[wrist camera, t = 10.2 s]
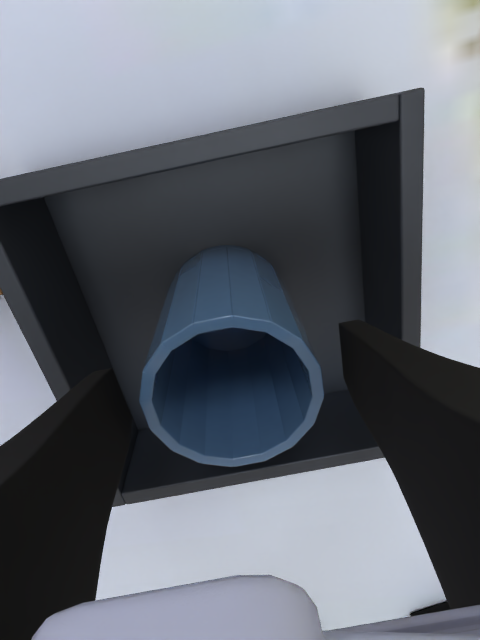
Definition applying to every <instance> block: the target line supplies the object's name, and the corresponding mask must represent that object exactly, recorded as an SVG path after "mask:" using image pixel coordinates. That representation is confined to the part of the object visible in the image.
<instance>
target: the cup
mask: <svg viewBox="0 0 480 640" xmlns="http://www.w3.org/2000/svg"><path fill="white" fill-rule="evenodd" d="M323 399H324V388H323V380H322V371H321V366H320V364H319V361H318V359H317V357H316V355H315V352H314V350H313V348H312V346H311V343H310V341H309V339H308V337H307V334H306V332H305V330H304V328H303V325H302V323H301V321H300V319H299V316H298V314H297V312H296V310H295V307H294V305H293V303H292V301H291V299H290V296H289V294H288V292H287V290H286V287H285V285H284V283H283V281H282V280H281V278H280V276H279V275H278V273H277V271H276V270H275V268H274V267H273V266H272V264H271V263H270V262H269V261H268V260H267V259H265V258H264V257H263V256H261V255H260V254H258V253H256V252H254V251H252V250H250V249H247V248H244V247H240V246H233V245H221V246H214V247H211V248H207V249H205V250H202V251H200V252H198V253H196V254H195V255H193V256H192V257H190V258H189V259H188V260H186V261H185V263H184V264H183V265H182V266H181V267H180V268H179V270H178V271H177V272H176V274H175V276H174V278H173V281H172V282H171V284H170V286H169V289H168V292H167V296H166V299H165V302H164V305H163V308H162V311H161V315H160V318H159V321H158V324H157V327H156V330H155V333H154V337H153V340H152V343H151V346H150V349H149V352H148V356H147V359H146V362H145V365H144V368H143V371H142V379H141V388H140V397H139V401H140V402H139V403H140V405H141V408H142V410H143V413H144V415H145V418H146V421H147V423H148V426H149V428H150V430H151V431H152V432H153V433H154V434H155V435H156V436H157V437H158V438H159V439H160V440H161V441H162V442H163V443H164V444H165V445H166V446H167V447H168V448H169V449H170V450H172V451H174V452H176V453H178V454H180V455H183V456H185V457H187V458H189V459H192V460H194V461H196V462H198V463H202V464H210V465H219V466H228V467H236V466H242V465H247V464H252V463H258V462H263V461H267V460H268V459H270V458H272V457H274V456H276V455H278V454H280V453H282V452H284V451H286V450H288V449H289V448H291V447H293V446H294V445H295V444H296V443H297V442H298V441H299V440H300V439H301V438H302V437H303V436H304V435H305V433H306V432H307V431H308V430H309V429H310V428H311V427H312V426H313V425H314V423H315V421H316V418H317V415H318V412H319V410H320V407H321V404H322V401H323Z"/></svg>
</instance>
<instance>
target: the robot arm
mask: <svg viewBox="0 0 480 640" xmlns="http://www.w3.org/2000/svg"><path fill="white" fill-rule="evenodd" d="M339 334H340V345H341V356H342V367H343V378H344V380H345V383H346V385H347V388H348V390H349V393H350V395H351V398H352V400H353V402H354V405H355V406H356V408H357V410H358V412H359V413H360V415H361V417H362V419H363V420H364V422H365V424H366V426H367V427H368V429H369V431H370V433H371V434H372V436H373V438H374V439H375V441H376V443H377V445H378V446H379V448H380V450H381V451H382V453H383V455H384V457H385V458H386V460H387V462H388V464H389V466H390V468H391V470H392V471H393V473H394V475H395V478H396V480H397V482H398V484H399V486H400V489H401V491H402V493H403V495H404V498H405V500H406V502H407V504H408V507H409V509H410V511H411V514H412V516H413V518H414V521H415V523H416V525H417V528H418V530H419V532H420V535H421V537H422V539H423V542H424V544H425V547H426V549H427V552H428V554H429V557H430V559H431V562H432V564H433V566H434V569H435V571H436V574H437V576H438V579H439V581H440V584H441V586H442V589H443V591H444V594H445V597H446V599H447V602H448V604H449V607H450V610H446V611H440V612H434V613H428V614H423V615H417V616H411V617H405V618H399V619H393V620H388V621H382V622H376V623H370V624H364V625H359V626H353V627H347V628H341V629H335V630H329V631H322V629H321V624H320V619H319V615H318V610H317V607H316V605H315V604H314V603H313V601H312V600H311V598H310V597H309V596H308V594H307V593H306V592H305V590H304V589H303V588H301V587H300V586H298V585H296V584H294V583H291V582H288V581H285V580H283V579H280V578H277V577H274V576H272V575H237V576H231V577H225V578H220V579H214V580H208V581H203V582H197V583H192V584H186V585H180V586H175V587H169V588H163V589H158V590H152V591H147V592H141V593H135V594H130V595H124V596H119V597H113V598H107V599H102V600H96V601H95V598H96V591H97V584H98V578H99V571H100V564H101V558H102V552H103V546H104V541H105V535H106V529H107V525H108V521H109V516H110V512H111V509H112V505H113V502H114V498H115V495H116V491H117V488H118V485H119V481H120V478H121V474H122V471H123V467H124V463H125V460H126V456H127V452H128V449H129V443H130V437H131V428H132V419H133V418H132V416H131V413H130V411H129V408H128V406H127V403H126V401H125V398H124V396H123V393H122V391H121V388H120V386H119V383H118V381H117V379H116V376H115V374H114V371H113V369H112V368H110V369H105V370H99V371H94V372H92V373H91V374H89V375H88V376H87V377H85V378H84V379H83V380H81V381H80V382H79V383H78V384H77V385H75V386H74V387H73V388H72V389H71V390H70V391H68V392H67V393H66V394H65V395H64V396H63V397H61V398H60V399H59V400H58V401H57V402H56V403H54V404H53V405H52V406H51V407H50V408H49V409H47V410H46V411H45V412H44V413H43V414H41V415H40V416H39V417H38V418H36V419H35V420H34V421H33V422H31V423H30V424H29V425H28V426H26V427H25V428H24V429H23V430H21V431H20V432H19V433H18V434H16V435H15V436H14V437H12V438H11V439H10V440H8V441H7V442H5V443H4V444H3V445H1V446H0V640H480V368H478V367H474V366H471V365H467V364H464V363H461V362H458V361H454V360H451V359H448V358H445V357H442V356H439V355H437V354H434V353H432V352H429V351H427V350H424V349H422V348H419V347H417V346H414V345H412V344H410V343H408V342H405V341H403V340H401V339H399V338H397V337H395V336H392V335H390V334H388V333H386V332H384V331H382V330H380V329H378V328H376V327H374V326H372V325H370V324H368V323H366V322H364V321H361V320H359V319H357V320H352V321H347V322H342V323H339Z"/></svg>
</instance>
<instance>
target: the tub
mask: <svg viewBox="0 0 480 640" xmlns="http://www.w3.org/2000/svg"><path fill="white" fill-rule="evenodd" d="M423 149H424V88H417V89H413V90H408V91H403V92H399V93H394V94H390V95H385V96H380V97H376V98H371V99H366V100H362V101H357V102H353V103H348V104H343V105H339V106H334V107H330V108H325V109H320V110H316V111H311V112H307V113H302V114H297V115H293V116H288V117H283V118H279V119H274V120H270V121H265V122H260V123H256V124H251V125H247V126H242V127H237V128H233V129H228V130H224V131H219V132H214V133H210V134H205V135H201V136H196V137H191V138H187V139H182V140H177V141H173V142H168V143H164V144H159V145H154V146H150V147H145V148H141V149H136V150H131V151H127V152H122V153H118V154H113V155H108V156H104V157H99V158H95V159H90V160H85V161H81V162H76V163H71V164H67V165H62V166H58V167H53V168H48V169H44V170H39V171H35V172H30V173H25V174H21V175H16V176H12V177H7V178H2V179H0V289H1V291H2V293H3V295H4V297H5V299H6V301H7V303H8V305H9V307H10V309H11V311H12V313H13V315H14V317H15V319H16V321H17V323H18V325H19V327H20V329H21V331H22V333H23V335H24V337H25V339H26V341H27V343H28V344H29V346H30V348H31V350H32V352H33V354H34V356H35V358H36V360H37V362H38V364H39V366H40V368H41V370H42V372H43V374H44V376H45V378H46V380H47V382H48V384H49V386H50V388H51V390H52V392H53V394H54V396H55V398H56V400H57V401H58V400H59V399H60V398H61V397H63V396H64V395H65V394H66V393H67V392H68V391H70V390H71V389H72V388H73V387H74V386H75V385H77V384H78V383H79V382H80V381H81V380H83V379H84V378H85V377H87V376H88V375H89V374H91V373H92V372H94V371H99V370H105V369H110V368H112V369H113V371H114V374H115V376H116V379H117V381H118V383H119V386H120V388H121V391H122V393H123V396H124V398H125V401H126V403H127V406H128V408H129V411H130V413H131V416H132V418H133V419H132V428H131V437H130V443H129V449H128V452H127V456H126V460H125V463H124V467H123V471H122V474H121V478H120V481H119V485H118V488H117V491H116V495H115V498H114V502H113V505H112V507H115V506H121V505H125V504H132V503H138V502H143V501H149V500H154V499H160V498H165V497H171V496H176V495H182V494H187V493H193V492H198V491H204V490H209V489H214V488H220V487H225V486H231V485H236V484H242V483H247V482H253V481H258V480H264V479H269V478H275V477H280V476H286V475H291V474H297V473H302V472H308V471H313V470H319V469H324V468H330V467H335V466H341V465H346V464H352V463H357V462H363V461H368V460H374V459H379V458H385V457H384V455H383V453H382V451H381V450H380V448H379V446H378V445H377V443H376V441H375V439H374V438H373V436H372V434H371V433H370V431H369V429H368V427H367V426H366V424H365V422H364V420H363V419H362V417H361V415H360V413H359V412H358V410H357V408H356V406H355V405H354V402H353V400H352V398H351V395H350V393H349V390H348V388H347V385H346V383H345V380H344V378H343V367H342V356H341V345H340V334H339V323H342V322H347V321H352V320H357V319H359V320H361V321H364V322H366V323H368V324H370V325H372V326H374V327H376V328H378V329H380V330H382V331H384V332H386V333H388V334H390V335H392V336H395V337H397V338H399V339H401V340H403V341H405V342H408V343H410V344H412V345H414V346H417V347H419V348H420V329H421V269H422V209H423ZM221 245H233V246H240V247H244V248H247V249H250V250H252V251H254V252H256V253H258V254H260V255H261V256H263V257H264V258H265V259H267V260H268V261H269V262H270V263H271V264H272V266H273V267H274V268H275V270H276V271H277V273H278V275H279V276H280V278H281V280H282V281H283V283H284V285H285V287H286V290H287V292H288V294H289V296H290V299H291V301H292V303H293V305H294V307H295V310H296V312H297V314H298V316H299V319H300V321H301V323H302V325H303V328H304V330H305V332H306V334H307V337H308V339H309V341H310V343H311V346H312V348H313V350H314V352H315V355H316V357H317V359H318V361H319V364H320V366H321V371H322V380H323V388H324V399H323V401H322V404H321V407H320V410H319V412H318V415H317V418H316V421H315V423H314V425H313V426H312V427H311V428H310V429H309V430H308V431H307V432H306V433H305V435H304V436H303V437H302V438H301V439H300V440H299V441H298V442H297V443H296V444H295V445H294V446H293V447H291V448H289V449H288V450H286V451H284V452H282V453H280V454H278V455H276V456H274V457H272V458H270V459H268V460H267V461H263V462H258V463H252V464H247V465H242V466H236V467H228V466H219V465H210V464H202V463H198V462H196V461H194V460H192V459H189V458H187V457H185V456H183V455H180V454H178V453H176V452H174V451H172V450H170V449H169V448H168V447H167V446H166V445H165V444H164V443H163V442H162V441H161V440H160V439H159V438H158V437H157V436H156V435H155V434H154V433H153V432H152V431H151V430H150V428H149V426H148V423H147V421H146V418H145V415H144V413H143V410H142V408H141V405H140V403H139V402H140V401H139V397H140V388H141V379H142V371H143V368H144V365H145V362H146V359H147V356H148V352H149V349H150V346H151V343H152V340H153V337H154V333H155V330H156V327H157V324H158V321H159V318H160V315H161V311H162V308H163V305H164V302H165V299H166V296H167V292H168V289H169V286H170V284H171V282H172V281H173V278H174V276H175V274H176V272H177V271H178V270H179V268H180V267H181V266H182V265H183V264H184V263H185V261H186V260H188V259H189V258H190V257H192V256H193V255H195V254H196V253H198V252H200V251H202V250H205V249H207V248H211V247H214V246H221Z"/></svg>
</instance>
